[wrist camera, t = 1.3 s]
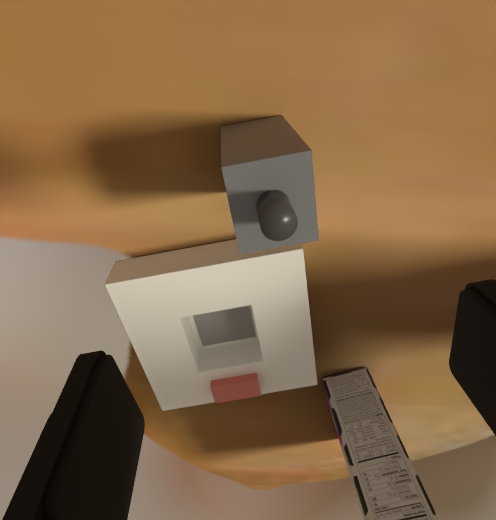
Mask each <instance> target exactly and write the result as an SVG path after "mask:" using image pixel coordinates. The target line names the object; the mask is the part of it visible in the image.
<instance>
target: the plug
mask: <svg viewBox="0 0 496 520" xmlns="http://www.w3.org/2000/svg"><path fill="white" fill-rule="evenodd" d="M221 168H222V173H223V178H224V182H225V187H226V192H227V197H228V201H229V206H230V211H231V215H232V220H233V225H234V230H235V234H236V239H237V244H238V248H239V253H240V254H246V253H251V252H257V251H262V250H268V249H273V248H279V247H284V246H290V245H295V244H301V243H306V242H312V241H317V240H319V237H318V225H317V212H316V200H315V187H314V175H313V162H312V150H311V149H310V148H309V147H308V146H307V144H306V143H305V142H304V141H303V140H302V138H301V137H300V136H299V135H298V134H297V133H296V131H295V130H294V129H293V128H292V127H291V126H290V124H289V123H288V122H287V121H286V120H285V118H284V117H283V116H282V115H279V116H274V117H269V118H263V119H258V120H253V121H248V122H243V123H238V124H232V125H227V126H222V127H221Z"/></svg>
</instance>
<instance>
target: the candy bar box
mask: <svg viewBox="0 0 496 520" xmlns="http://www.w3.org/2000/svg"><path fill="white" fill-rule="evenodd" d="M322 382H323V386H324V390H325V393H326V397H327V400H328V404H329V408H330V411H331V415H332V418H333V421H334V425H335V428H336V431H337V435H338V438H339V441H340V444H341V447H342V451H343V454H344V457H345V460H346V464H347V467H348V470H349V473H350V477H351V480H352V483H353V486H354V490H355V493H356V496H357V499H358V502H359V506H360V509H361V512H362V515H363V518H364V520H438V518H437V516H436V514H435V511H434V509H433V507H432V504H431V503H430V500H429V498H428V496H427V494H426V492H425V490H424V488H423V486H422V483H421V481H420V479H419V477H418V475H417V473H416V471H415V469H414V467H413V464H412V462H411V460H410V458H409V456H408V454H407V452H406V450H405V448H404V446H403V444H402V442H401V440H400V437H399V435H398V433H397V431H396V429H395V426H394V425H393V422H392V420H391V418H390V416H389V414H388V412H387V409H386V407H385V405H384V403H383V401H382V398H381V396H380V394H379V392H378V390H377V388H376V386H375V384H374V381H373V379H372V377H371V375H370V373H369V371H368V369H367V368H366V367H365V368H359V369H354V370H351V371H348V372H344V373H341V374H337V375H333V376H329V377H325V378H322Z"/></svg>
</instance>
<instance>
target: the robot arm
mask: <svg viewBox="0 0 496 520" xmlns="http://www.w3.org/2000/svg"><path fill="white" fill-rule="evenodd" d="M449 366H450V370H451V372H452V374H453V376H454V377H455V379H456V380H457V381H458V383H459V384H460V386H461V387H462V389H463V390H464V391H465V393H466V394H467V396H468V397H469V399H470V400H471V401H472V403H473V404H474V406H475V407H476V408H477V410H478V411H479V413H480V414H481V416H482V417H483V418H484V420H485V421H486V423H487V424H488V425H489V427H490V428H491V430H492V431H493V433H494V434H495V435H496V281H495V280H492V279H491V280H485V281H480V282H474V283H469V284H467V286H466V288H465V290H462V291H461V292H460V295H459V302H458V308H457V314H456V321H455V327H454V333H453V340H452V346H451V352H450V359H449ZM144 428H145V423H144V417H143V415H142V413H141V411H140V409H139V407H138V405H137V403H136V401H135V399H134V397H133V395H132V393H131V391H130V389H129V387H128V386H127V384H126V382H125V380H124V378H123V376H122V374H121V372H120V370H119V368H118V366H117V364H116V362H115V361H114V359H113V357H112V356H111V355H106V354H105V352H103V351H96V352H91V353H85V354H80V355H79V356H78V358H77V359H76V361H75V363H74V366H73V368H72V370H71V373H70V375H69V377H68V379H67V381H66V384H65V386H64V388H63V390H62V392H61V395H60V397H59V399H58V401H57V404H56V406H55V408H54V410H53V413H52V414H51V415H50V417H49V418H48V420H47V422H46V424H45V427H44V429H43V431H42V433H41V435H40V438H39V440H38V442H37V444H36V447H35V449H34V451H33V453H32V455H31V458H30V460H29V462H28V464H27V467H26V469H25V471H24V473H23V475H22V477H21V480H20V482H19V484H18V486H17V489H16V491H15V493H14V495H13V497H12V500H11V502H10V504H9V506H8V508H7V511H6V513H5V515H4V517H3V520H127V518H128V513H129V507H130V502H131V497H132V492H133V486H134V481H135V476H136V471H137V466H138V460H139V455H140V450H141V445H142V439H143V434H144Z"/></svg>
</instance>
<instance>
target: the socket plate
mask: <svg viewBox="0 0 496 520" xmlns="http://www.w3.org/2000/svg"><path fill="white" fill-rule="evenodd" d="M105 287H106V289H107V291H108V293H109V295H110V297H111V299H112V302H113V304H114V306H115V308H116V310H117V313H118V315H119V317H120V319H121V321H122V323H123V325H124V328H125V330H126V332H127V335H128V337H129V339H130V341H131V343H132V345H133V348H134V350H135V352H136V354H137V356H138V359H139V361H140V363H141V365H142V367H143V369H144V372H145V374H146V376H147V378H148V380H149V383H150V385H151V387H152V389H153V391H154V393H155V396H156V398H157V400H158V402H159V404H160V407H161V409H162V411H166V410H172V409H178V408H184V407H190V406H195V405H201V404H207V403H213V402H215V404H216V403H222V402H228V401H234V400H240V399H246V398H252V397H258V396H261V394H266V393H272V392H278V391H284V390H290V389H296V388H302V387H307V386H313V385H317V375H316V366H315V357H314V347H313V338H312V329H311V319H310V310H309V300H308V291H307V282H306V272H305V263H304V254H303V248H302V245H301V244H295V245H290V246H284V247H279V248H273V249H268V250H262V251H257V252H251V253H246V254H240V253H239V248H238V244H237V239H234V240H229V241H223V242H218V243H212V244H207V245H202V246H196V247H191V248H185V249H180V250H174V251H169V252H163V253H158V254H152V255H147V256H142V257H136V258H131V259H125V260H120V261H116V262H115V264H114V266H113V268H112V270H111V273H110V275H109V277H108V279H107V281H106V283H105Z"/></svg>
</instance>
